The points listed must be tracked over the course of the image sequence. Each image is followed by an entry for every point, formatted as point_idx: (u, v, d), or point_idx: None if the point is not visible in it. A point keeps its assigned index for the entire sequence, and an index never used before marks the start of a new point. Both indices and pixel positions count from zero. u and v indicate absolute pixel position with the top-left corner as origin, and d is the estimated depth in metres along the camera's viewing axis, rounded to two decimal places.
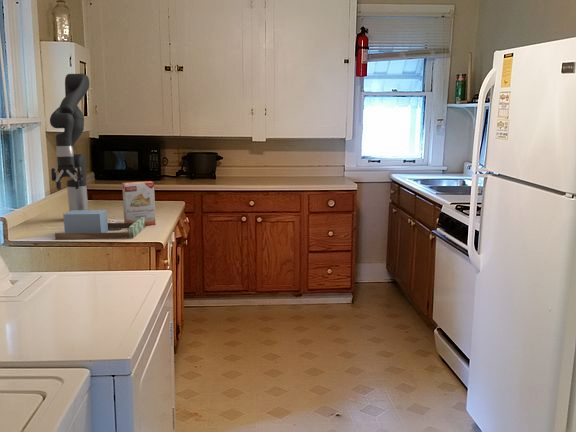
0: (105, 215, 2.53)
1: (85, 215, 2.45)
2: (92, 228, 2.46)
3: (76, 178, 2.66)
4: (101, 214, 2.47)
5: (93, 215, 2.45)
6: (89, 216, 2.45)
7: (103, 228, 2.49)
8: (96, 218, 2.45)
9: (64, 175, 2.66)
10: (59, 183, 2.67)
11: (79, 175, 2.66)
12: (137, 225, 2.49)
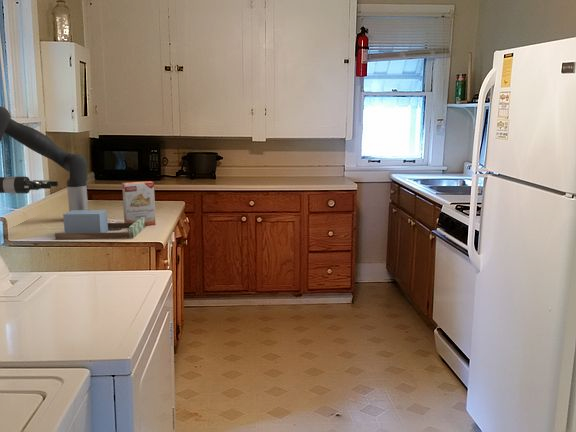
0: (105, 216, 2.53)
1: (85, 215, 2.45)
2: (92, 229, 2.46)
3: None
4: (101, 214, 2.47)
5: (93, 215, 2.45)
6: (89, 216, 2.45)
7: (103, 228, 2.49)
8: (96, 218, 2.45)
9: None
10: (50, 184, 2.50)
11: (33, 189, 2.41)
12: (137, 225, 2.49)
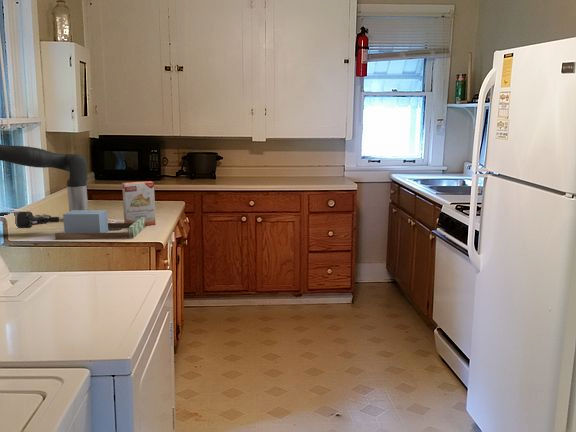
0: (105, 216, 2.53)
1: (84, 215, 2.45)
2: (91, 229, 2.46)
3: (46, 222, 2.48)
4: (101, 214, 2.47)
5: (92, 215, 2.44)
6: (88, 216, 2.45)
7: (102, 228, 2.49)
8: (95, 218, 2.45)
9: None
10: None
11: None
12: (137, 225, 2.49)
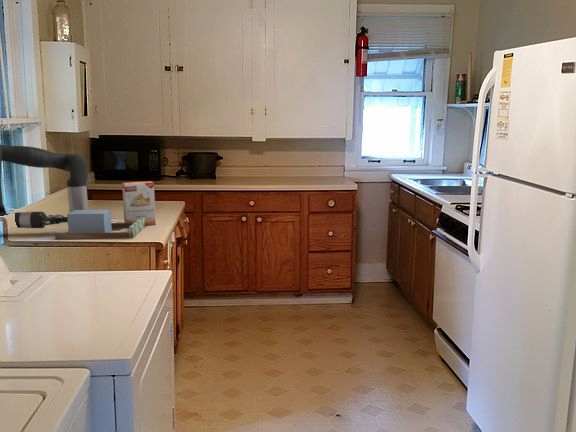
0: (109, 215, 2.53)
1: (89, 215, 2.45)
2: (96, 228, 2.46)
3: (59, 222, 2.48)
4: (105, 214, 2.47)
5: (97, 215, 2.45)
6: (93, 216, 2.45)
7: (107, 228, 2.50)
8: (100, 217, 2.45)
9: None
10: None
11: None
12: (137, 225, 2.49)
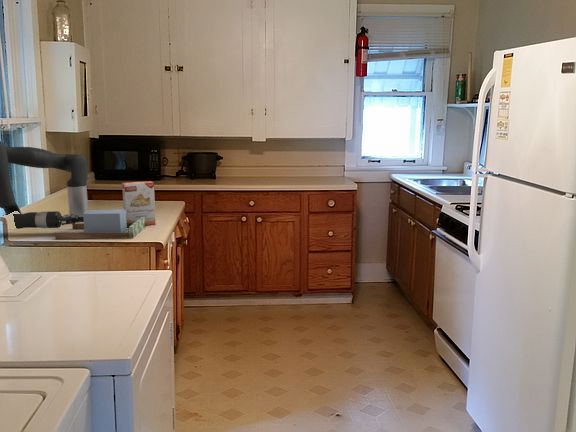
0: (124, 215, 2.53)
1: (105, 214, 2.45)
2: (112, 228, 2.46)
3: (75, 222, 2.49)
4: (121, 214, 2.48)
5: (113, 214, 2.45)
6: (109, 215, 2.45)
7: (122, 227, 2.50)
8: (116, 217, 2.45)
9: None
10: None
11: None
12: (137, 225, 2.49)
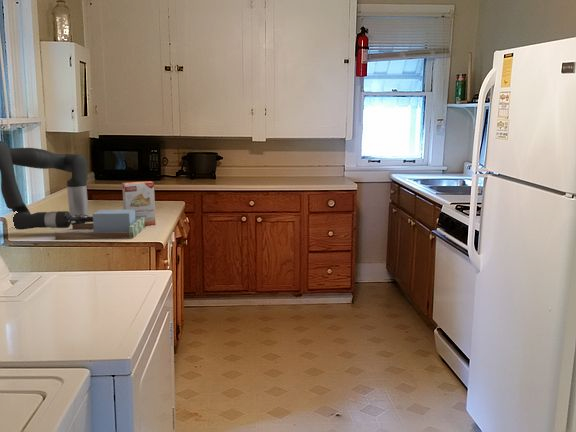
0: (134, 215, 2.53)
1: (114, 214, 2.45)
2: (121, 228, 2.46)
3: None
4: (130, 214, 2.48)
5: (122, 214, 2.45)
6: (118, 215, 2.45)
7: None
8: (125, 217, 2.45)
9: None
10: None
11: None
12: (137, 225, 2.49)
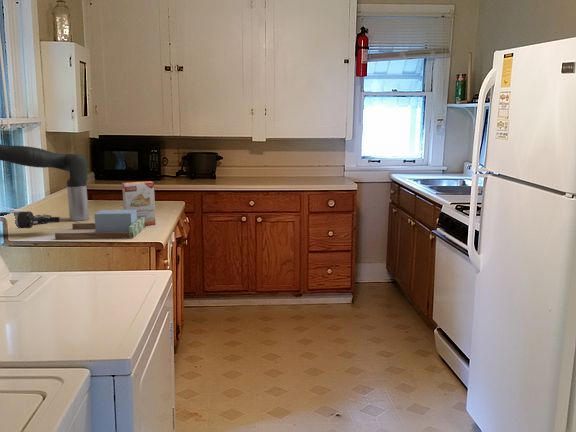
0: (135, 215, 2.53)
1: (116, 214, 2.45)
2: (123, 228, 2.46)
3: (47, 222, 2.49)
4: (132, 214, 2.48)
5: (124, 214, 2.45)
6: (120, 215, 2.45)
7: None
8: (127, 217, 2.45)
9: None
10: None
11: None
12: (137, 225, 2.49)
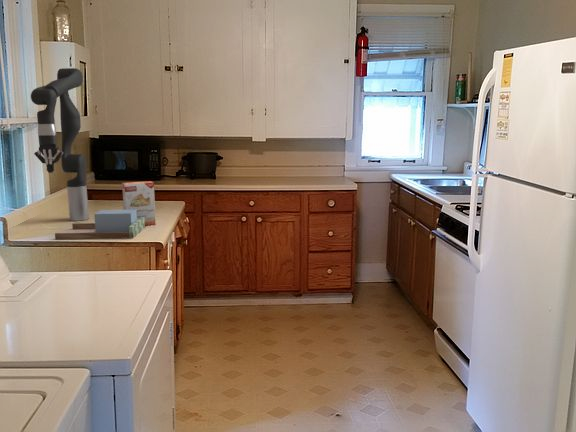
0: (135, 215, 2.53)
1: (116, 214, 2.45)
2: (123, 228, 2.46)
3: (52, 162, 2.52)
4: (132, 214, 2.48)
5: (124, 214, 2.45)
6: (120, 215, 2.45)
7: None
8: (127, 217, 2.45)
9: None
10: None
11: (56, 159, 2.51)
12: (137, 225, 2.49)
